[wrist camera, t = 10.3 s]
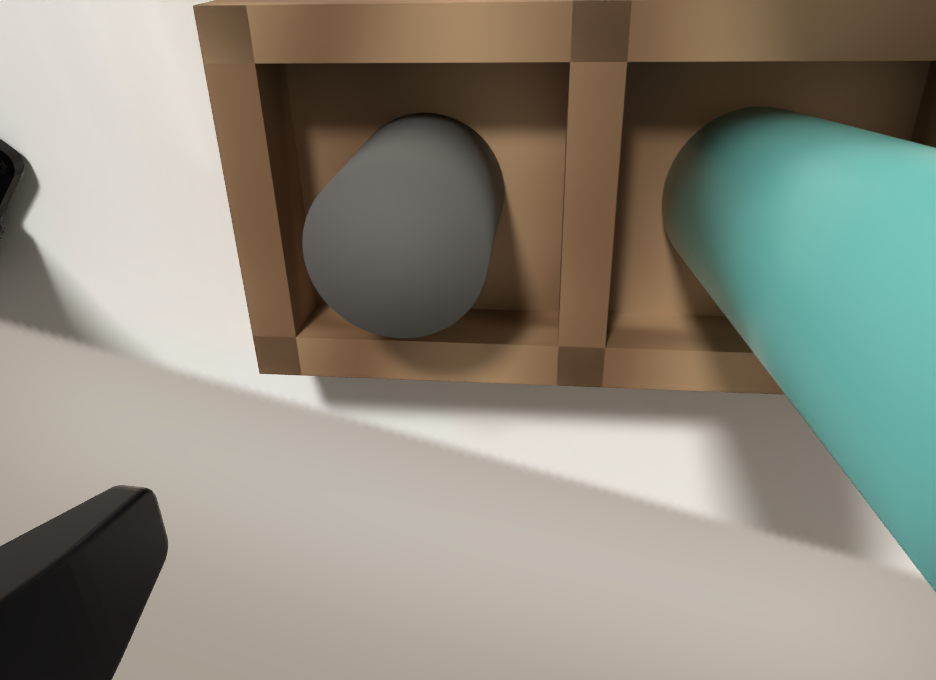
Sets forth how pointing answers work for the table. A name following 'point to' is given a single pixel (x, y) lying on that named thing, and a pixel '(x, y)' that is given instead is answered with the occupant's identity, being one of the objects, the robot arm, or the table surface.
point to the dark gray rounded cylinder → (407, 227)
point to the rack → (536, 162)
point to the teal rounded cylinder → (827, 288)
